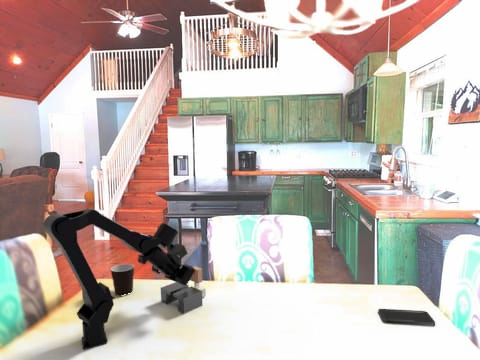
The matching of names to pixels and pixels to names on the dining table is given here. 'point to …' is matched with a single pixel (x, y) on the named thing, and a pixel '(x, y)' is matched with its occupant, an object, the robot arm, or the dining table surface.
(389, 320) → the phone
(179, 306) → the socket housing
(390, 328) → the dining table surface
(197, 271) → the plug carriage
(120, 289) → the coffee mug
